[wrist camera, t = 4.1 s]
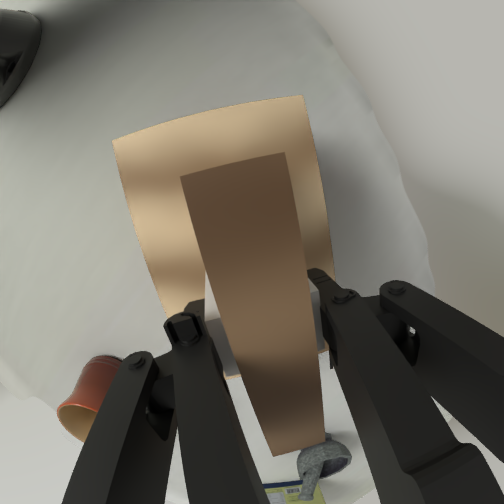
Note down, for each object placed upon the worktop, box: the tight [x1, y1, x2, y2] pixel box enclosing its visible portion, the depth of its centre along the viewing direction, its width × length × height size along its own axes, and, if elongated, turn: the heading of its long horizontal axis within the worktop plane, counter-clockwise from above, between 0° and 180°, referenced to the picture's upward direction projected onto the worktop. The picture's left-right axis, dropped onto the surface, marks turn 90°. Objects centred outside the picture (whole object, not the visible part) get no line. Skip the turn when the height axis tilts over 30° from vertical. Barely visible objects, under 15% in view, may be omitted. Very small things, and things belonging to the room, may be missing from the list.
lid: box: [112, 95, 335, 457], centre depth 14 cm, size 19×12×12 cm, turn 13°
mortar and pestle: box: [297, 433, 352, 501], centre depth 35 cm, size 11×9×12 cm
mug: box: [57, 356, 122, 443], centre depth 26 cm, size 12×9×10 cm
